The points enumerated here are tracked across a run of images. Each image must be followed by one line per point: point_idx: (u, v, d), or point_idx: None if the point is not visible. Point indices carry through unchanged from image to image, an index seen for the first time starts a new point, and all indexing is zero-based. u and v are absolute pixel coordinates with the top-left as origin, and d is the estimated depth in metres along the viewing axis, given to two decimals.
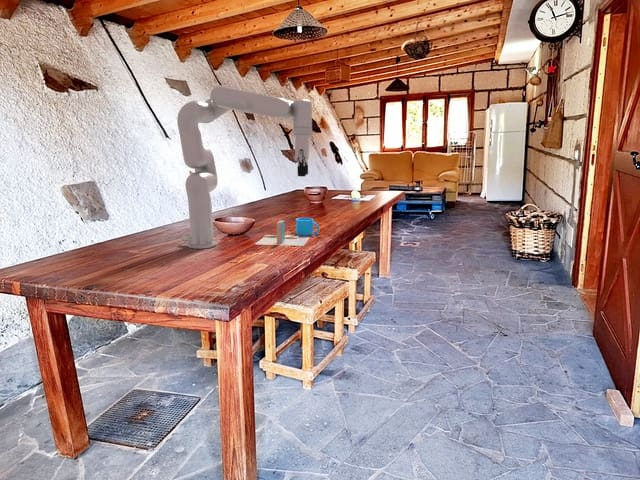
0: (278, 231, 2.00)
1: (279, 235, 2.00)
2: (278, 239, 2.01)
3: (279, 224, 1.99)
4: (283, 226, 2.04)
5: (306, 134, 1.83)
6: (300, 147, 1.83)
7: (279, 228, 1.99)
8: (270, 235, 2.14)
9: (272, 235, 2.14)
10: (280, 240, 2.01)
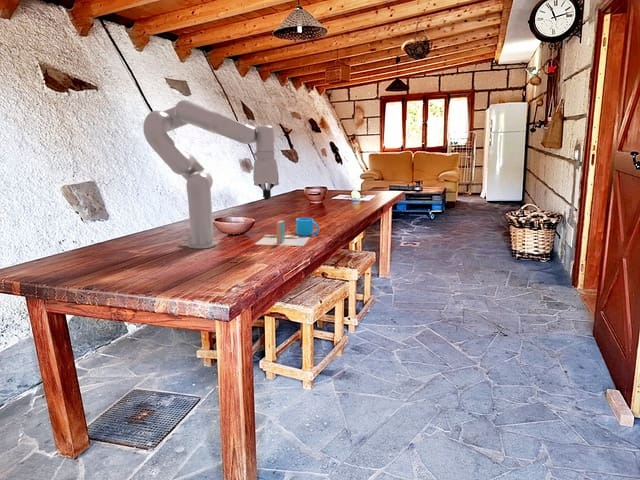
0: (278, 231, 2.00)
1: (279, 235, 2.00)
2: (278, 239, 2.01)
3: (279, 224, 1.99)
4: (283, 226, 2.04)
5: None
6: (277, 170, 1.98)
7: (279, 228, 1.99)
8: (270, 235, 2.14)
9: (272, 235, 2.14)
10: (280, 240, 2.01)
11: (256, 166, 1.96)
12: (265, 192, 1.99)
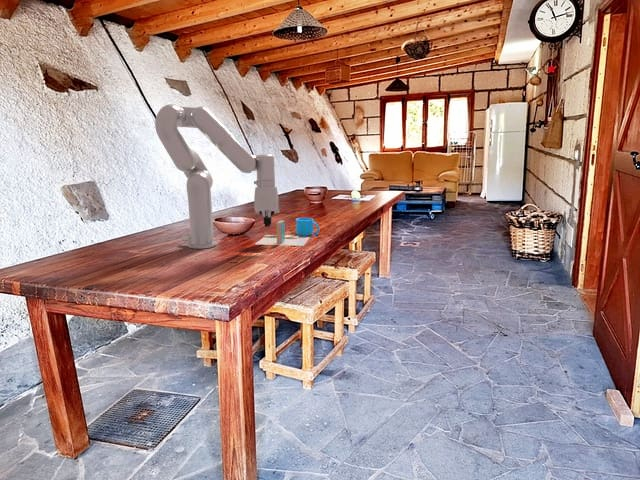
0: (278, 231, 2.00)
1: (279, 235, 2.00)
2: (278, 239, 2.01)
3: (279, 224, 1.99)
4: (283, 226, 2.04)
5: None
6: (277, 197, 2.00)
7: (279, 228, 1.99)
8: (270, 235, 2.14)
9: (272, 235, 2.14)
10: (280, 240, 2.01)
11: (257, 194, 1.99)
12: (266, 219, 2.02)
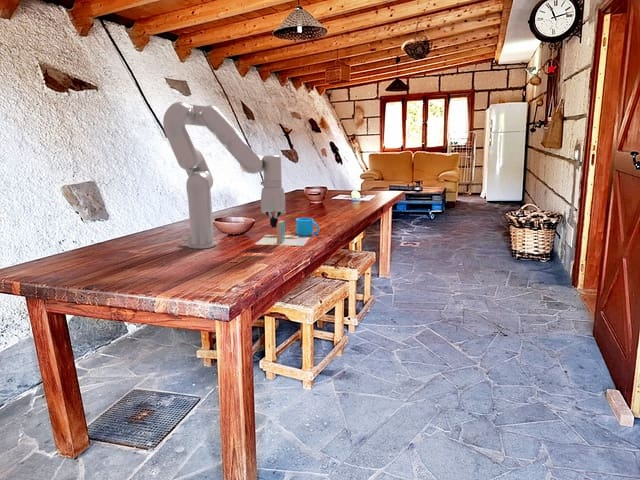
0: (278, 231, 2.00)
1: (279, 235, 2.00)
2: (278, 239, 2.01)
3: (279, 224, 1.99)
4: (283, 226, 2.04)
5: None
6: (284, 198, 2.00)
7: (279, 228, 1.99)
8: (270, 235, 2.14)
9: (272, 235, 2.14)
10: (280, 240, 2.01)
11: (264, 195, 1.98)
12: (272, 220, 2.01)
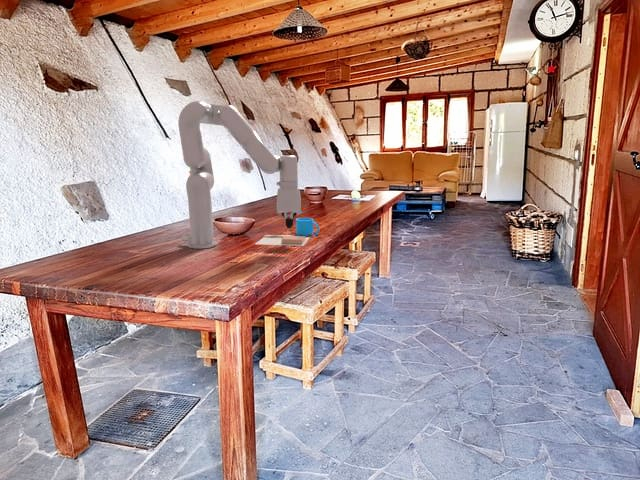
0: (293, 241, 2.00)
1: (289, 242, 2.00)
2: (285, 240, 2.00)
3: (300, 242, 1.99)
4: None
5: None
6: (300, 199, 1.99)
7: (296, 242, 2.00)
8: (270, 235, 2.14)
9: (272, 235, 2.14)
10: (284, 242, 2.01)
11: (280, 195, 1.97)
12: (288, 221, 2.00)
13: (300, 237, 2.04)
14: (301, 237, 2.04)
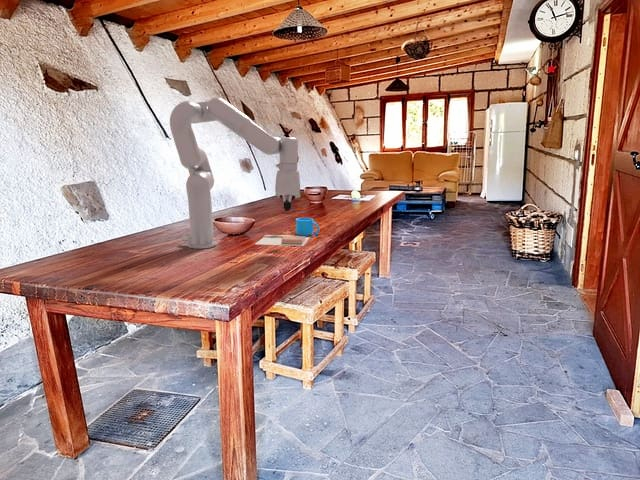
0: (293, 241, 2.00)
1: (289, 242, 2.00)
2: (285, 240, 2.00)
3: (300, 242, 1.99)
4: None
5: None
6: (299, 182, 1.97)
7: (296, 242, 2.00)
8: (270, 235, 2.14)
9: (272, 235, 2.14)
10: (284, 242, 2.01)
11: (279, 177, 1.96)
12: (286, 204, 1.99)
13: (300, 237, 2.04)
14: (301, 237, 2.04)
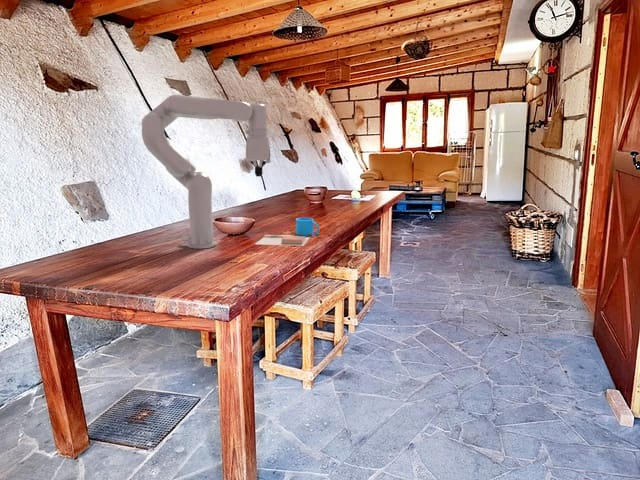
0: (293, 241, 2.00)
1: (289, 242, 2.00)
2: (285, 240, 2.00)
3: (300, 242, 1.99)
4: None
5: None
6: (269, 147, 2.03)
7: (296, 242, 2.00)
8: (270, 235, 2.14)
9: (272, 235, 2.14)
10: (284, 242, 2.01)
11: (248, 143, 2.02)
12: (257, 169, 2.05)
13: (300, 237, 2.04)
14: (301, 237, 2.04)
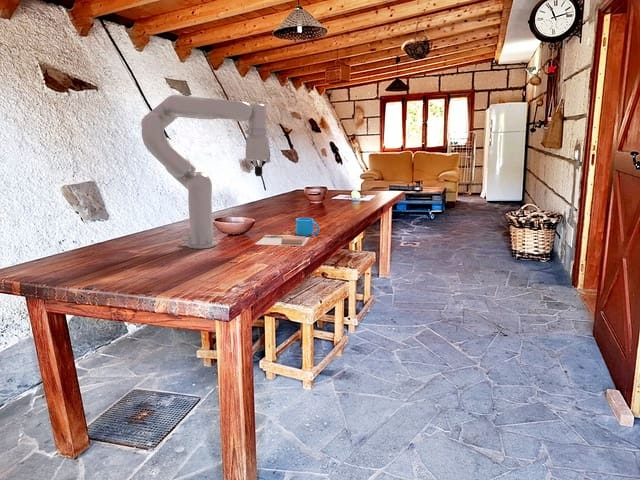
0: (293, 241, 2.00)
1: (289, 242, 2.00)
2: (285, 240, 2.00)
3: (300, 242, 1.99)
4: None
5: None
6: (268, 147, 2.03)
7: (296, 242, 2.00)
8: (270, 235, 2.14)
9: (272, 235, 2.14)
10: (284, 242, 2.01)
11: (248, 143, 2.02)
12: (257, 169, 2.05)
13: (300, 237, 2.04)
14: (301, 237, 2.04)
